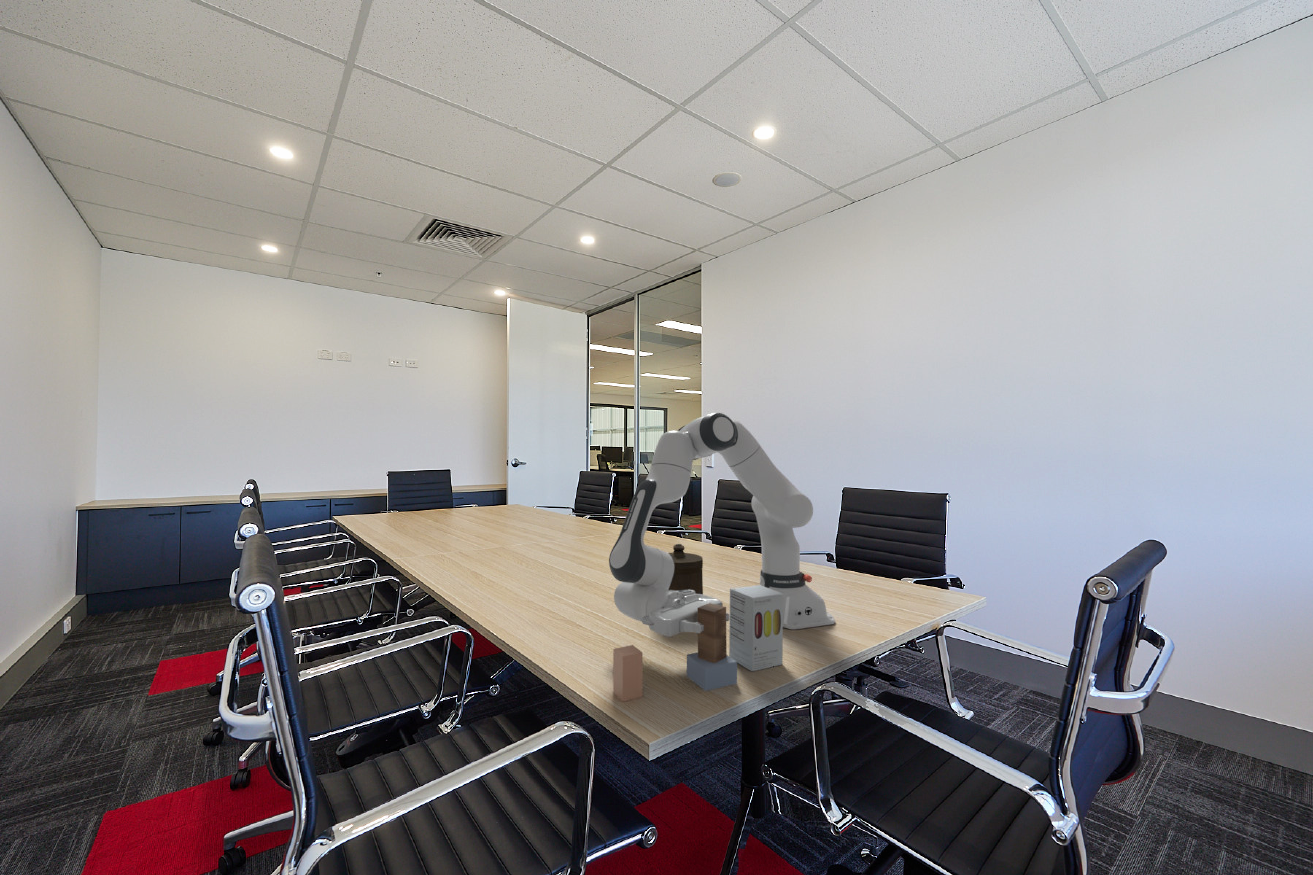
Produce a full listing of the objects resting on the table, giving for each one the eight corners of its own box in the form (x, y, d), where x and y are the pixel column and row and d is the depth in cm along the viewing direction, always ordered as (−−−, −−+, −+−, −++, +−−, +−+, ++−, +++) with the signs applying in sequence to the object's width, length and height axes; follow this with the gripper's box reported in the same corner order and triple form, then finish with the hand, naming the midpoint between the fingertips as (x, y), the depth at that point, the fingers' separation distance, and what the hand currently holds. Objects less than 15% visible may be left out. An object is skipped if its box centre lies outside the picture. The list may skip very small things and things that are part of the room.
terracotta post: (632, 687, 109) (632, 644, 110) (642, 696, 105) (642, 652, 106) (613, 692, 107) (613, 648, 107) (622, 701, 103) (622, 656, 104)
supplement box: (751, 672, 117) (751, 597, 117) (727, 657, 125) (727, 588, 125) (784, 664, 121) (784, 592, 122) (759, 650, 130) (759, 583, 130)
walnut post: (710, 651, 117) (709, 602, 117) (726, 656, 114) (726, 606, 114) (697, 657, 114) (697, 607, 114) (714, 663, 111) (714, 611, 111)
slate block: (717, 670, 119) (717, 648, 119) (737, 684, 111) (737, 661, 112) (686, 676, 115) (686, 654, 115) (705, 692, 108) (705, 668, 108)
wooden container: (696, 608, 163) (696, 539, 164) (708, 624, 149) (708, 548, 149) (650, 611, 161) (650, 540, 162) (658, 627, 146) (658, 549, 147)
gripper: (637, 606, 115) (684, 620, 105) (694, 587, 130) (740, 599, 120) (636, 634, 115) (684, 651, 105) (694, 613, 130) (740, 626, 120)
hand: (715, 623), depth 113 cm, fingers open, 8 cm apart
